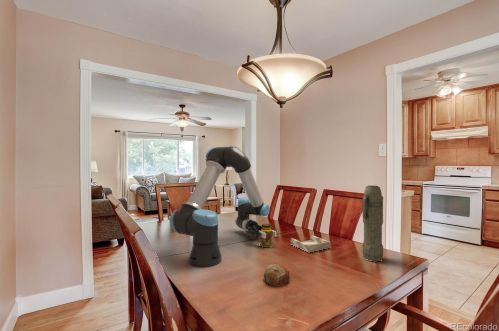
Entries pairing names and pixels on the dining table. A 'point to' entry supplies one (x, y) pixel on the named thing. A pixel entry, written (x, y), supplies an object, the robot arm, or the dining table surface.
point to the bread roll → (276, 274)
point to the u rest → (311, 244)
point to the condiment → (268, 240)
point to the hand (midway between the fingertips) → (270, 235)
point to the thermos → (372, 223)
